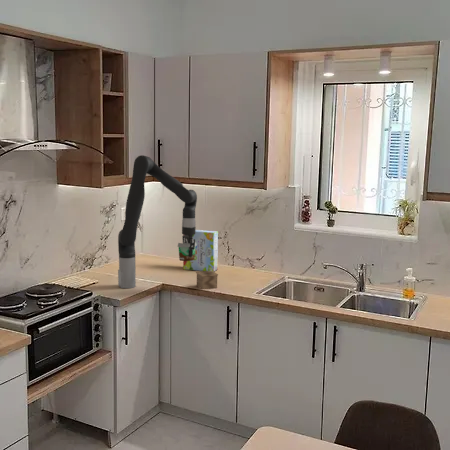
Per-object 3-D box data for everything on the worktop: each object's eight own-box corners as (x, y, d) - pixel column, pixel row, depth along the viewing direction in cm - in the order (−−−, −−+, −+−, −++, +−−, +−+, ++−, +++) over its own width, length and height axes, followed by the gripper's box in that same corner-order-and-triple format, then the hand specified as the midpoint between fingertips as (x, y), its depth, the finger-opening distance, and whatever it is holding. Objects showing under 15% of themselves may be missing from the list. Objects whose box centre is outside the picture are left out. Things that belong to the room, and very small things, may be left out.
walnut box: (202, 289, 320) (202, 275, 318) (195, 285, 328) (196, 272, 327) (217, 288, 324) (218, 274, 322) (211, 284, 332) (211, 270, 331)
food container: (184, 262, 311) (185, 244, 309) (177, 260, 315) (177, 242, 313) (201, 259, 319) (201, 241, 318) (193, 257, 324) (193, 240, 322)
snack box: (218, 269, 369) (218, 230, 366) (213, 272, 361) (214, 232, 358) (187, 266, 377) (188, 228, 373) (182, 269, 369) (182, 230, 365)
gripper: (178, 224, 320) (177, 253, 322) (187, 228, 307) (186, 258, 309) (190, 223, 323) (190, 252, 325) (199, 227, 310) (199, 257, 312)
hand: (188, 255), depth 317 cm, fingers closed on food container, 6 cm apart
